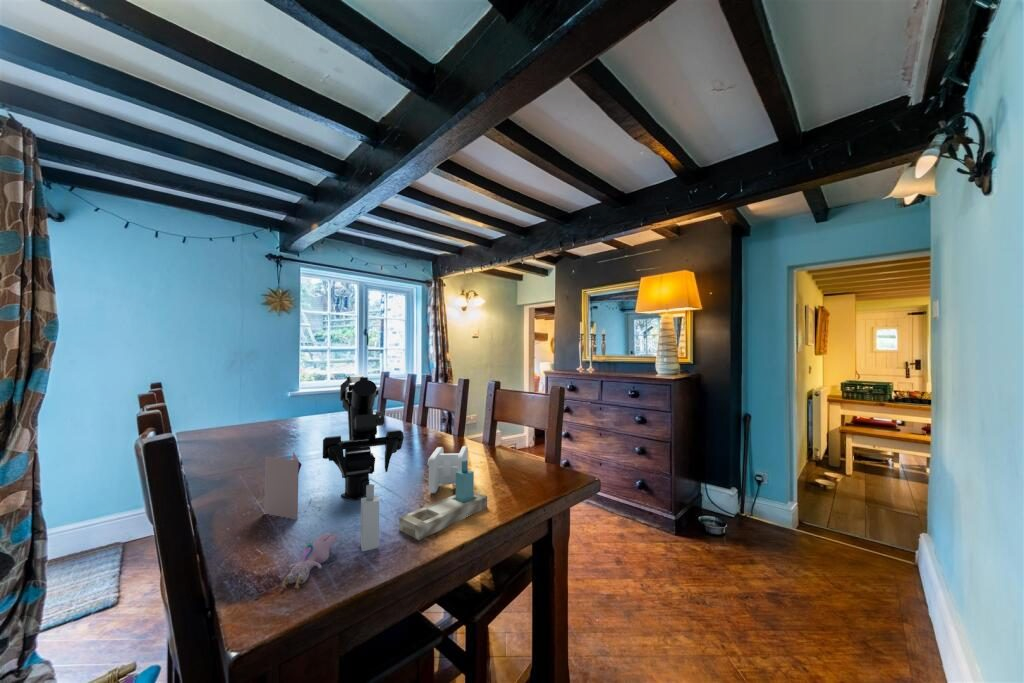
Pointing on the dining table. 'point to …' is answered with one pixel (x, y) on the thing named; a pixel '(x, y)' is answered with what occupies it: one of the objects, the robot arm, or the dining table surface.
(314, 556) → the pink horned figurine
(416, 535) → the slot rack
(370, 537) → the grey plug
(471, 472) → the teal plug
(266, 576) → the dining table surface
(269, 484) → the greeting card
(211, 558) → the dining table surface
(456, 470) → the cable organizer
